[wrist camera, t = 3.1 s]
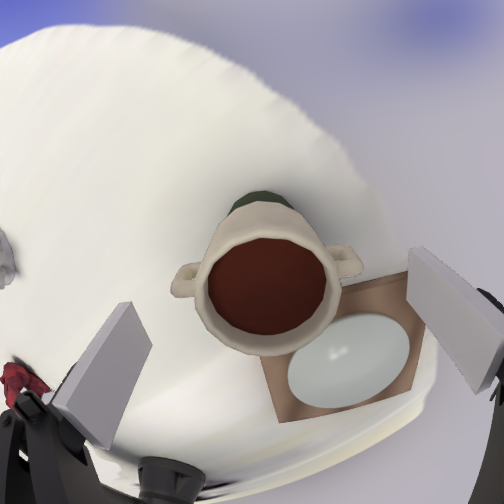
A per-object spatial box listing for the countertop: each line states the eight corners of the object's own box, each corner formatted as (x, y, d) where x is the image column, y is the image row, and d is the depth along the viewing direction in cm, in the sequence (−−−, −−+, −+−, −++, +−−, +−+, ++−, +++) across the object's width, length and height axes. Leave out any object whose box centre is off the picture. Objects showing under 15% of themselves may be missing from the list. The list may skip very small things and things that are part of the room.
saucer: (294, 411, 32) (295, 417, 31) (277, 329, 27) (278, 335, 26) (398, 385, 31) (400, 389, 30) (412, 297, 26) (416, 302, 25)
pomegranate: (5, 348, 35) (-15, 363, 26) (57, 367, 39) (42, 387, 30) (14, 407, 34) (-1, 427, 26) (63, 425, 38) (53, 450, 30)
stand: (278, 415, 35) (279, 423, 34) (248, 305, 28) (247, 314, 26) (407, 383, 33) (410, 390, 32) (425, 266, 26) (432, 271, 25)
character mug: (209, 268, 26) (178, 363, 14) (194, 194, 24) (137, 245, 12) (323, 253, 26) (373, 340, 14) (318, 178, 23) (381, 213, 11)
